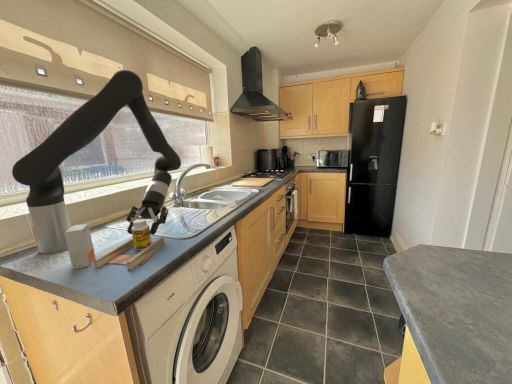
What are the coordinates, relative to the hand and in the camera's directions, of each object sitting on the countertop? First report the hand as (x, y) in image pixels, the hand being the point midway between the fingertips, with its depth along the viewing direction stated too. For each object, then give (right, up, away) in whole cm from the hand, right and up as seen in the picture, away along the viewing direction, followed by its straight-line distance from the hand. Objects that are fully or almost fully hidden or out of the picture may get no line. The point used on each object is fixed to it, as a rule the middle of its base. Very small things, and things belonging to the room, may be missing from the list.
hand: (140, 233), depth 73 cm
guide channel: (-1, -6, -3) cm, 7 cm away
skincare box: (-13, -8, -8) cm, 17 cm away
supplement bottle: (0, -5, +2) cm, 6 cm away
